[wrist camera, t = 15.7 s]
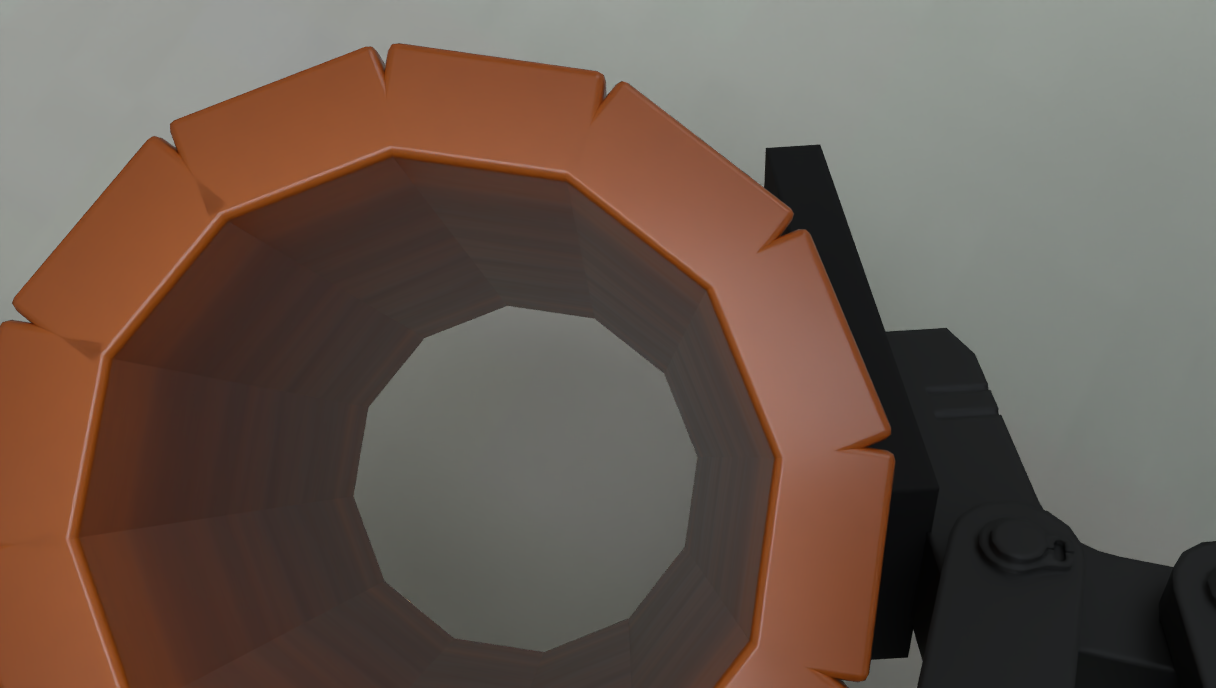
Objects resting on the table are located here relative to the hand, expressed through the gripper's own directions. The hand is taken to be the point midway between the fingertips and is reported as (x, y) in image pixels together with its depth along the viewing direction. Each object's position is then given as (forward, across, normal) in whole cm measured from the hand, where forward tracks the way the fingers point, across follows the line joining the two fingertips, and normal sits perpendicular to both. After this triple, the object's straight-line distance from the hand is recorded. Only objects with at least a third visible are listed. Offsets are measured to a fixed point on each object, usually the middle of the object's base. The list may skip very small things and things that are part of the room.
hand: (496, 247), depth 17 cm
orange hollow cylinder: (0, 0, -4) cm, 5 cm away
